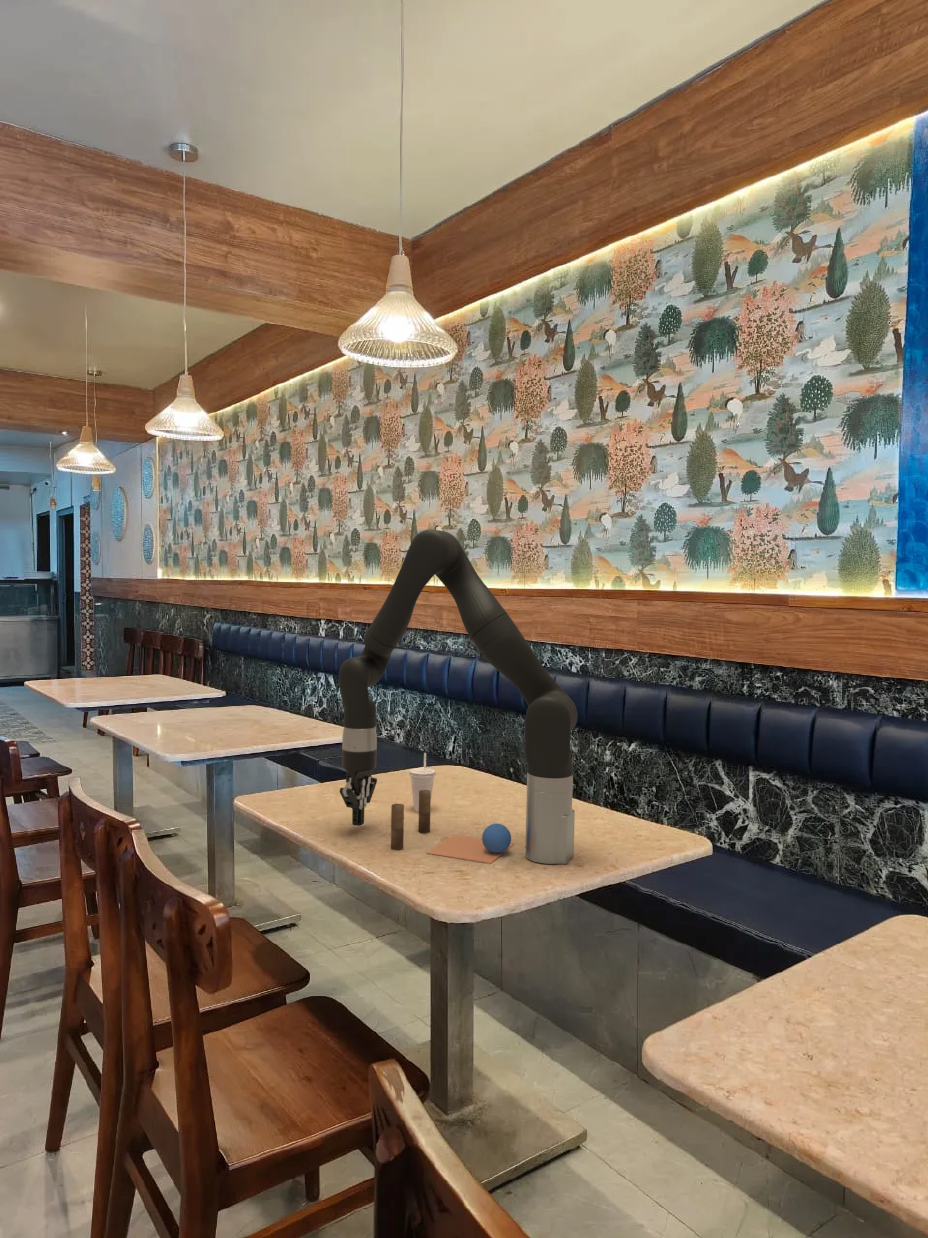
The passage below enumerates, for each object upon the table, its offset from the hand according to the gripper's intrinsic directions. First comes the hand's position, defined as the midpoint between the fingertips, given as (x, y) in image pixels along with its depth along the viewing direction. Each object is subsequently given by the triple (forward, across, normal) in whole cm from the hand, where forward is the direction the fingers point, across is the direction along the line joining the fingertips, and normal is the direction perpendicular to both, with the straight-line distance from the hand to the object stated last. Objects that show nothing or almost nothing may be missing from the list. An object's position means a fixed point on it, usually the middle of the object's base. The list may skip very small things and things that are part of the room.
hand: (358, 824), depth 188 cm
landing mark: (+2, 0, -27) cm, 27 cm away
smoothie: (+2, +22, -5) cm, 23 cm away
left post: (+2, -7, -13) cm, 15 cm away
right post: (+2, +6, -13) cm, 15 cm away
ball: (-2, 0, -33) cm, 33 cm away
